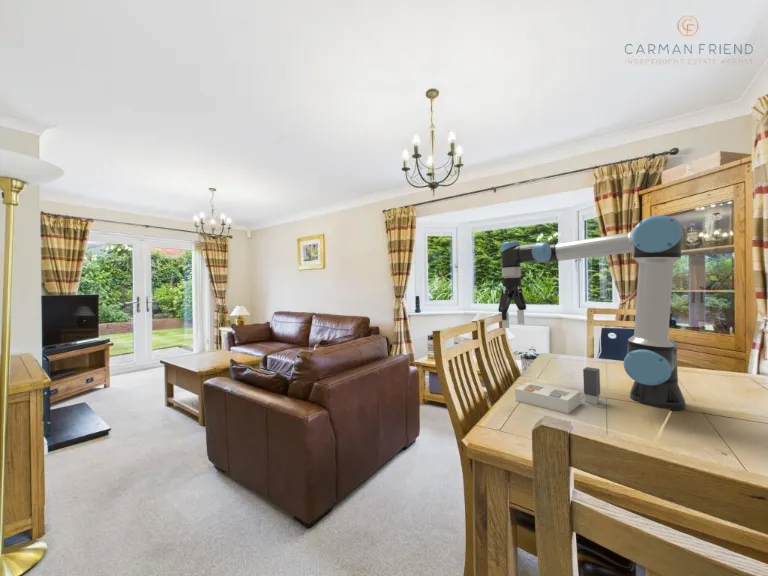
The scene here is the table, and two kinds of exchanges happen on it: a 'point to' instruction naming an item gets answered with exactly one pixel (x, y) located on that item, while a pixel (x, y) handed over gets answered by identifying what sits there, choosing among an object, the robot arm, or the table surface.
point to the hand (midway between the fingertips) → (513, 326)
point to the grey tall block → (591, 385)
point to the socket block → (548, 396)
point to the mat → (600, 404)
